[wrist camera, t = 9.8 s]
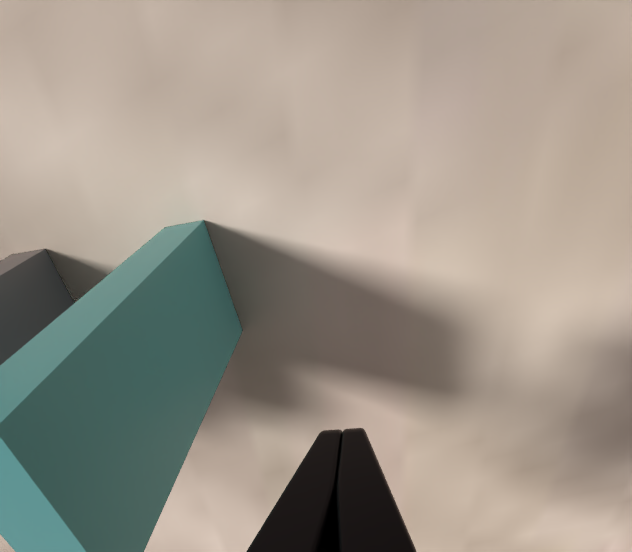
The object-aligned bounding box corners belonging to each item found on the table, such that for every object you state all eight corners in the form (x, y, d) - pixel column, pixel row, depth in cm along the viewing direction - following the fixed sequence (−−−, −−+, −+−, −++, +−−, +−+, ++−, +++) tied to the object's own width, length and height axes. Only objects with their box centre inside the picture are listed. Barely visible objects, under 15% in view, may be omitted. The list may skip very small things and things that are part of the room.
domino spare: (203, 220, 16) (-6, 429, 7) (242, 330, 18) (122, 599, 9) (164, 227, 16) (-86, 436, 7) (207, 335, 18) (57, 599, 9)
